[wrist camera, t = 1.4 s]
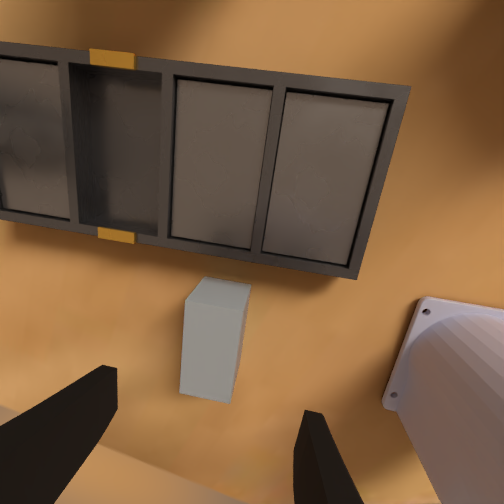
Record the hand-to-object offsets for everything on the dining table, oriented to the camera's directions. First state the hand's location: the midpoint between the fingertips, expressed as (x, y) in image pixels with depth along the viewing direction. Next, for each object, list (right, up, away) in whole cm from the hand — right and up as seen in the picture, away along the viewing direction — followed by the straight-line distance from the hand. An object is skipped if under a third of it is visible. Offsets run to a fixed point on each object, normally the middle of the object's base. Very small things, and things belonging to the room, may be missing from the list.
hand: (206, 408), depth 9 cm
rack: (-3, +12, +7) cm, 14 cm away
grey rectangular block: (0, +1, +10) cm, 10 cm away
